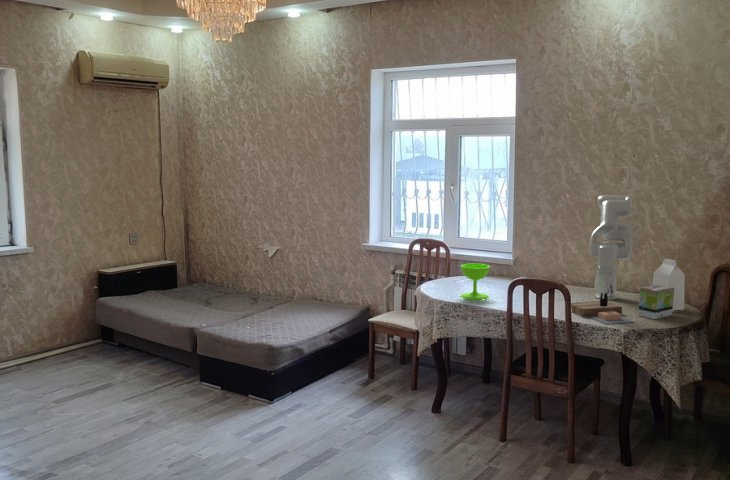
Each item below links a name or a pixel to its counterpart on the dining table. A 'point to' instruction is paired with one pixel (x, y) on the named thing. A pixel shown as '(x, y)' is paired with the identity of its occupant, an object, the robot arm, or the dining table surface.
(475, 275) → the wineglass
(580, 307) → the brown flat block
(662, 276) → the milk
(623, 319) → the mat
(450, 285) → the dining table surface
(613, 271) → the robot arm
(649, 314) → the tea box
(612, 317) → the tile
